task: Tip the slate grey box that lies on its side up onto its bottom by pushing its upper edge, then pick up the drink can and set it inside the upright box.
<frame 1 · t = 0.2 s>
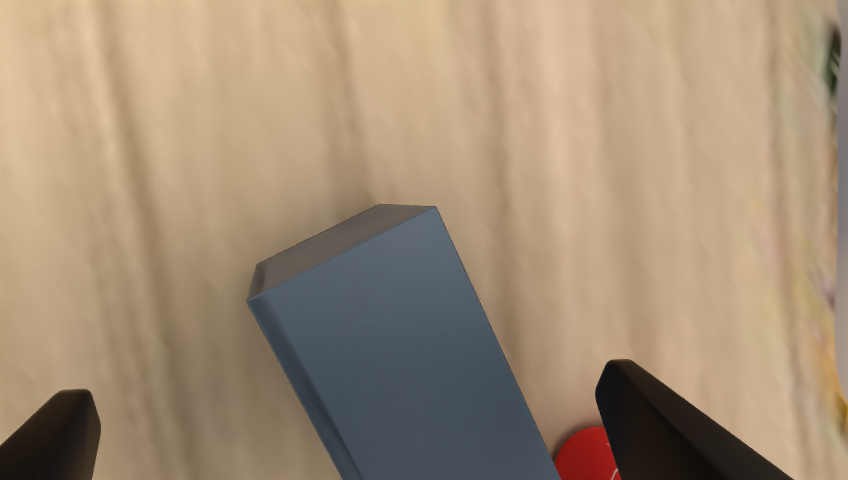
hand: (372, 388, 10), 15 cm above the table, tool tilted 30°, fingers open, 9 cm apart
beverage can: (589, 465, 29), on the table
slate grey box: (328, 421, 21), point 4 cm above the table
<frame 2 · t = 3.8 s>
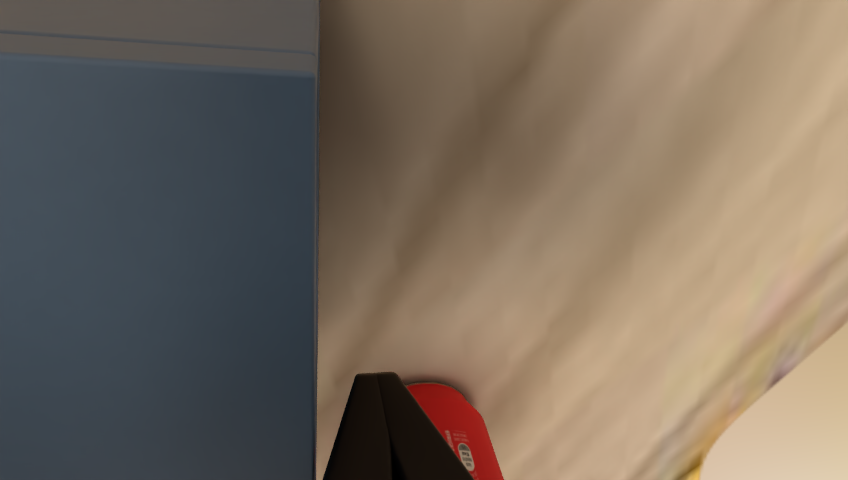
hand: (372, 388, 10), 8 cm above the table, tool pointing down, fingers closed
beverage can: (415, 415, 23), on the table
slate grey box: (2, 284, 11), point 4 cm above the table, touching gripper
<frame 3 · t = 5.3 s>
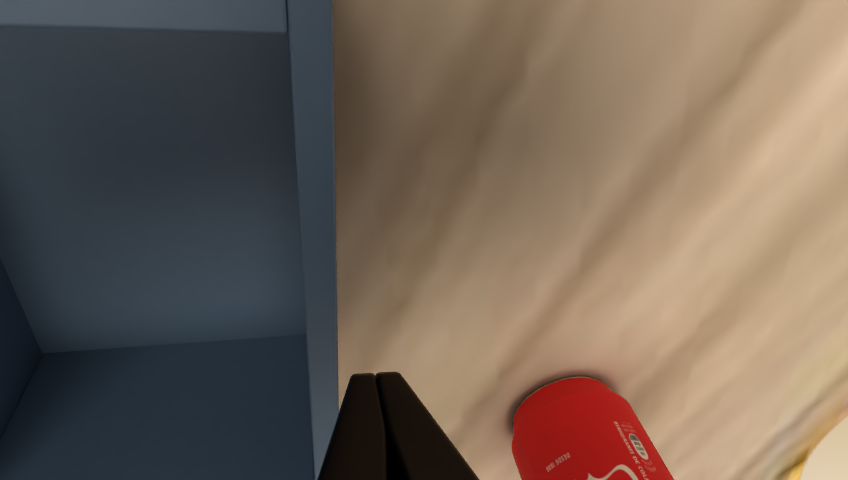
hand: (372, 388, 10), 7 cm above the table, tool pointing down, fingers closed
beverage can: (560, 407, 24), on the table
slate grey box: (151, 179, 15), on the table, tilted 90°
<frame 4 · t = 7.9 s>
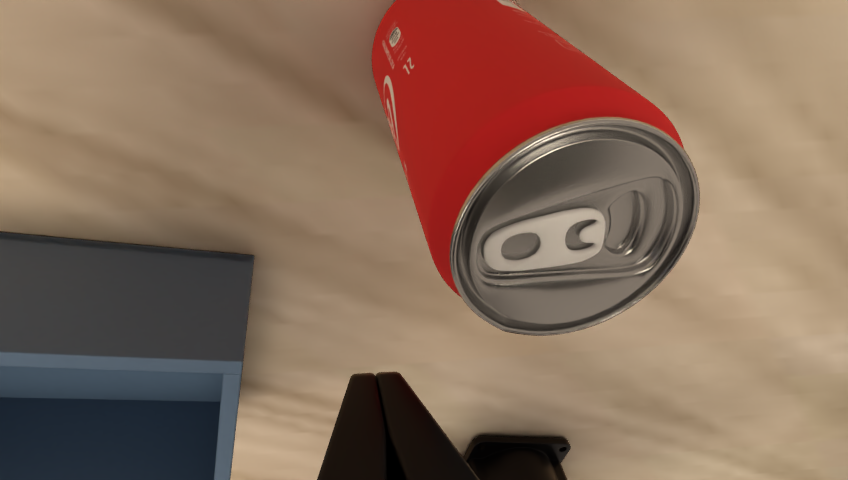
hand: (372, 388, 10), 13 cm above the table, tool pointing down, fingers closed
beverage can: (440, 47, 20), on the table
slate grey box: (98, 326, 24), on the table, tilted 90°
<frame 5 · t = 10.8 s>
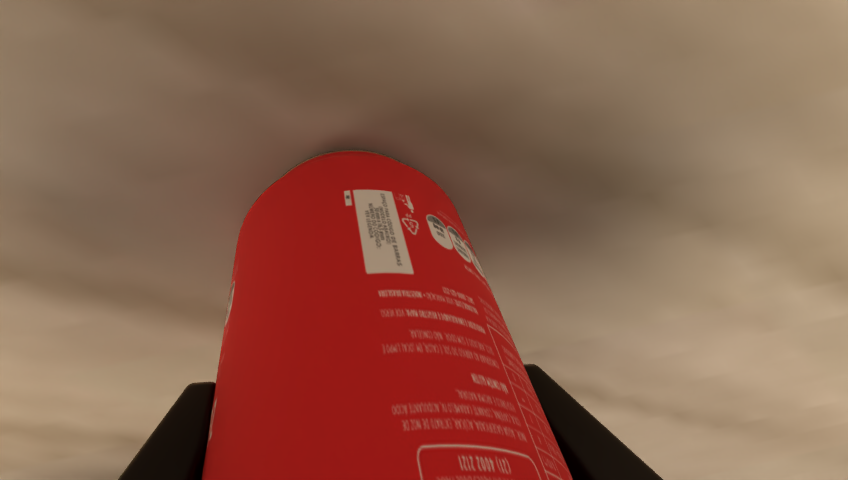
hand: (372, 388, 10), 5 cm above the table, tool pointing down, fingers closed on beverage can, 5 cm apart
beverage can: (350, 226, 14), on the table, touching gripper
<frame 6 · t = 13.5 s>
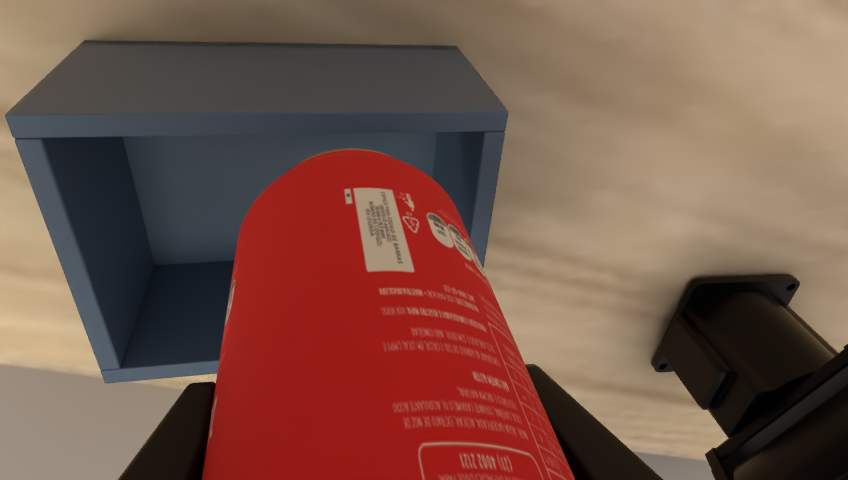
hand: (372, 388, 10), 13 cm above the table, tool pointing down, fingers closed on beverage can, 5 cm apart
beverage can: (350, 224, 14), point 8 cm above the table, touching gripper
slate grey box: (290, 164, 21), on the table, tilted 90°
when the fingers open (6 cm above the table, at t = 16.3 s): beverage can stays where it is, resting on slate grey box.
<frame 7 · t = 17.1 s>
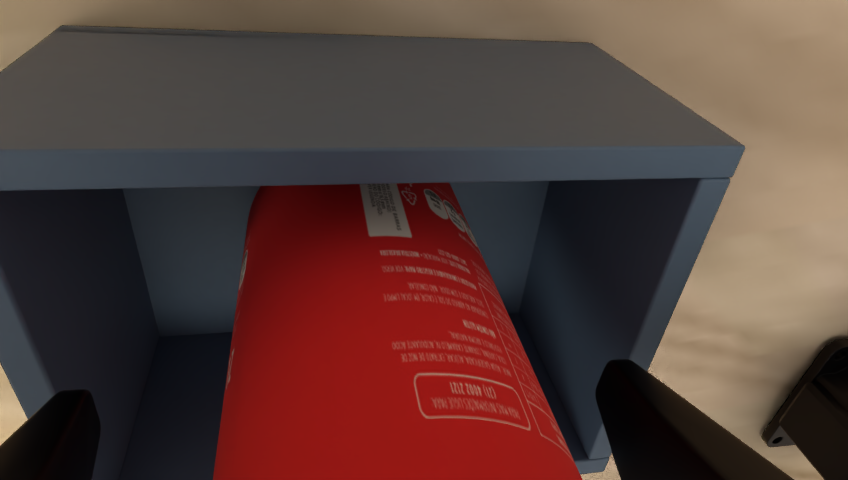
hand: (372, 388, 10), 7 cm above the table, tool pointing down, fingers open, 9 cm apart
beverage can: (352, 206, 15), resting on slate grey box
slate grey box: (349, 203, 15), on the table, tilted 90°, touching beverage can
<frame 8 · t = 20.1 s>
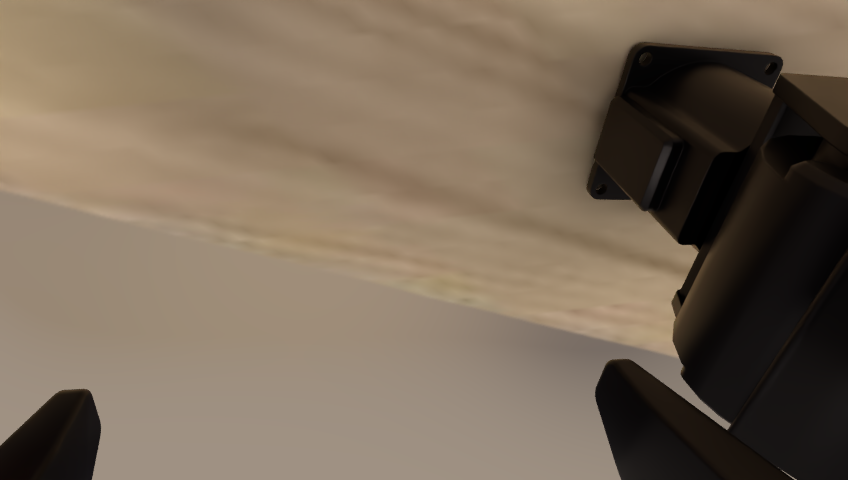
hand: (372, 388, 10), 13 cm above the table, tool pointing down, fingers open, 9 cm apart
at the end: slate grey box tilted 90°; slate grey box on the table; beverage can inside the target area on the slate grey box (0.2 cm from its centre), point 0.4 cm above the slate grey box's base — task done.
